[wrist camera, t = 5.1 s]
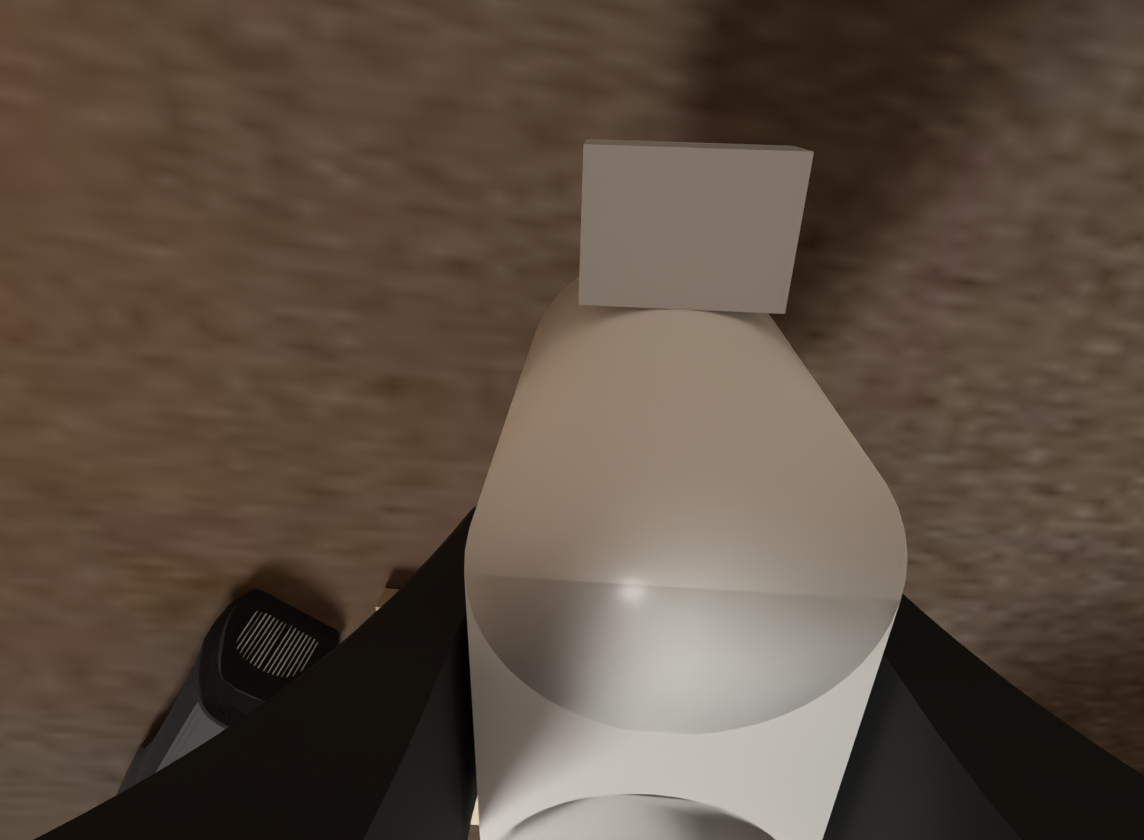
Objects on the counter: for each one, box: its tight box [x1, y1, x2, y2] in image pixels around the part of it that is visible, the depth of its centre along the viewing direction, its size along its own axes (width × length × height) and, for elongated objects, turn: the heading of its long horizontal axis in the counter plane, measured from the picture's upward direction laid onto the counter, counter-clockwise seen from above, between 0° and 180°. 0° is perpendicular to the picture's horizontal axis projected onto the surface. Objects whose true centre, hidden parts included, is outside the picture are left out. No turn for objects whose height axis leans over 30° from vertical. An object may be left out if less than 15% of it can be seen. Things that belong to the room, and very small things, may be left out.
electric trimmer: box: [117, 590, 338, 795], centre depth 22 cm, size 4×16×3 cm, turn 144°
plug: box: [464, 139, 908, 840], centre depth 9 cm, size 11×4×5 cm, turn 178°
